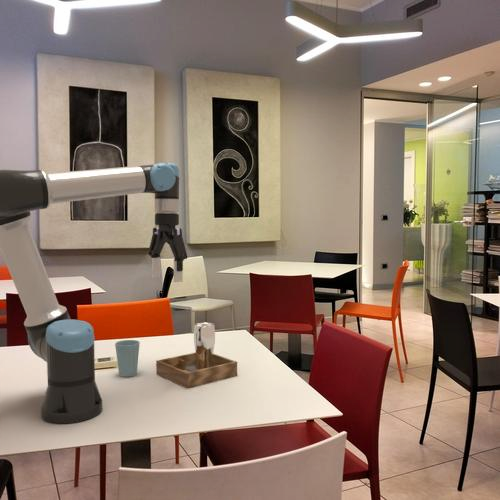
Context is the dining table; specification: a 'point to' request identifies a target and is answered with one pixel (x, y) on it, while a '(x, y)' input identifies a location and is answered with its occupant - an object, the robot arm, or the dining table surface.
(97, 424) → the dining table surface
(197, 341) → the shiny metal cylinder
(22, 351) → the dining table surface
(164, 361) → the caddy
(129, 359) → the cup
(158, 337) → the dining table surface
